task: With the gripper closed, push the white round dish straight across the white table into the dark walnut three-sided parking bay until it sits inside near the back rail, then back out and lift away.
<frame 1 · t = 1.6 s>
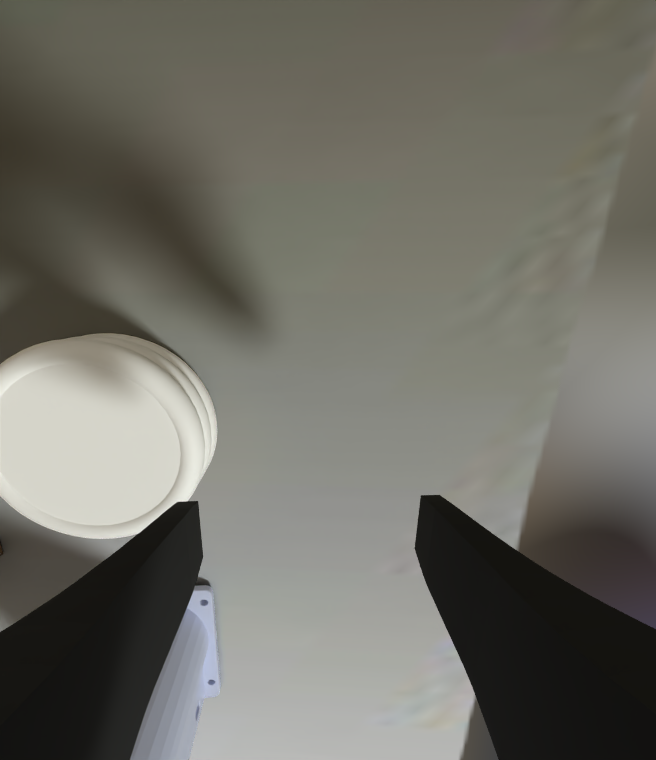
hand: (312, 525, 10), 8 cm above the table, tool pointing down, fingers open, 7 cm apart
white round dish: (130, 420, 17), on the table
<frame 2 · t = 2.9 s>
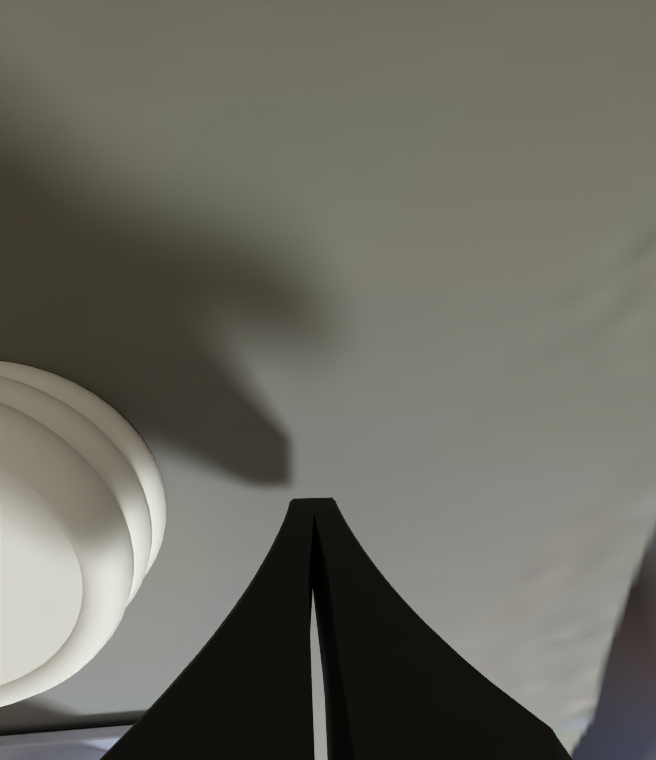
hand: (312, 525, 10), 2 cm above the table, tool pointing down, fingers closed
white round dish: (29, 492, 11), on the table
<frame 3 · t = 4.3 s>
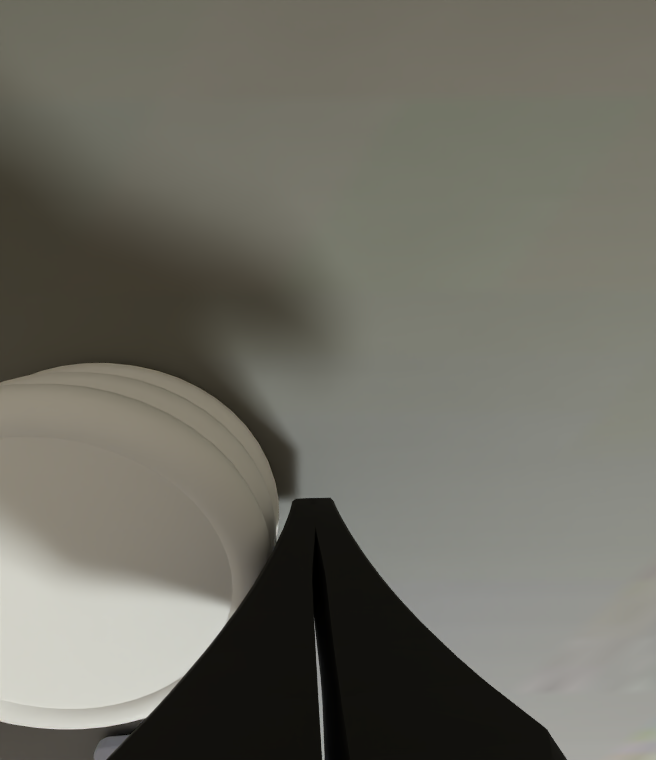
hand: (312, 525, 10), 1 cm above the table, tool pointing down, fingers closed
white round dish: (137, 498, 11), on the table, touching gripper
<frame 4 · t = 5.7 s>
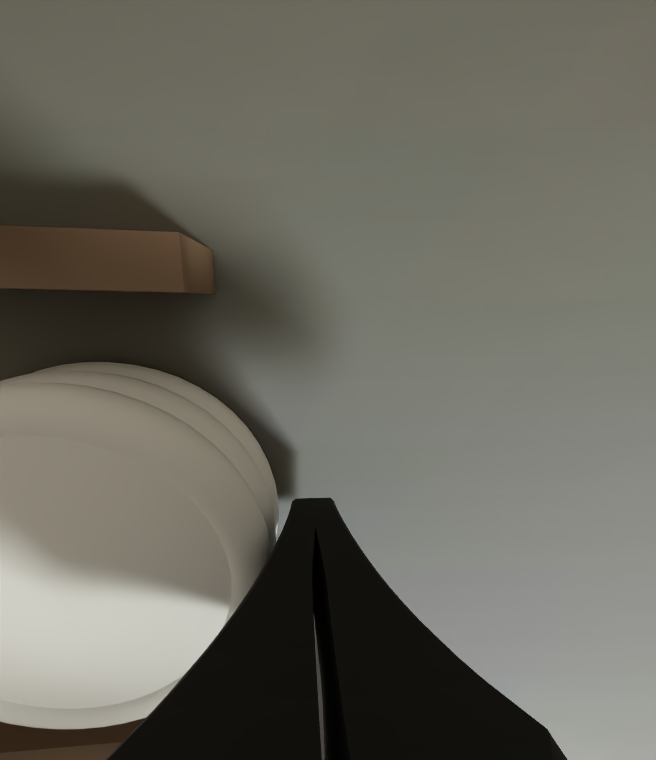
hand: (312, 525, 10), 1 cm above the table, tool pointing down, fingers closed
walnut bay: (30, 506, 10), on the table
white round dish: (136, 497, 11), on the table, touching gripper
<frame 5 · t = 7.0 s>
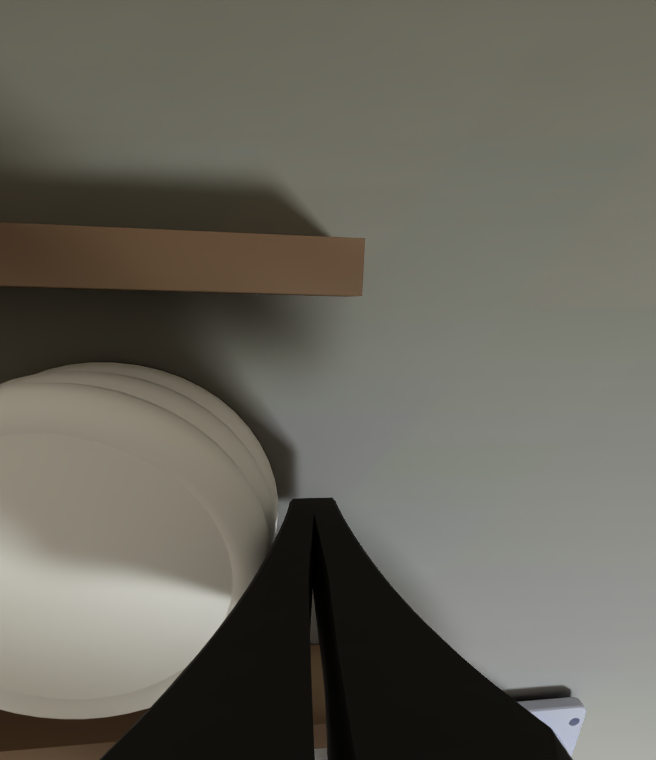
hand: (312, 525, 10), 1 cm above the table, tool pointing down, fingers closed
walnut bay: (150, 502, 11), on the table
white round dish: (139, 495, 11), on the table
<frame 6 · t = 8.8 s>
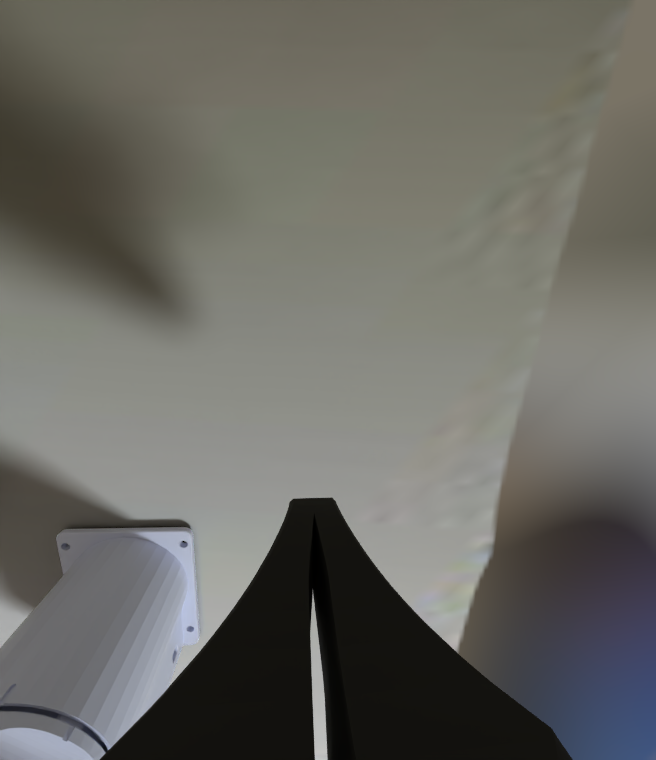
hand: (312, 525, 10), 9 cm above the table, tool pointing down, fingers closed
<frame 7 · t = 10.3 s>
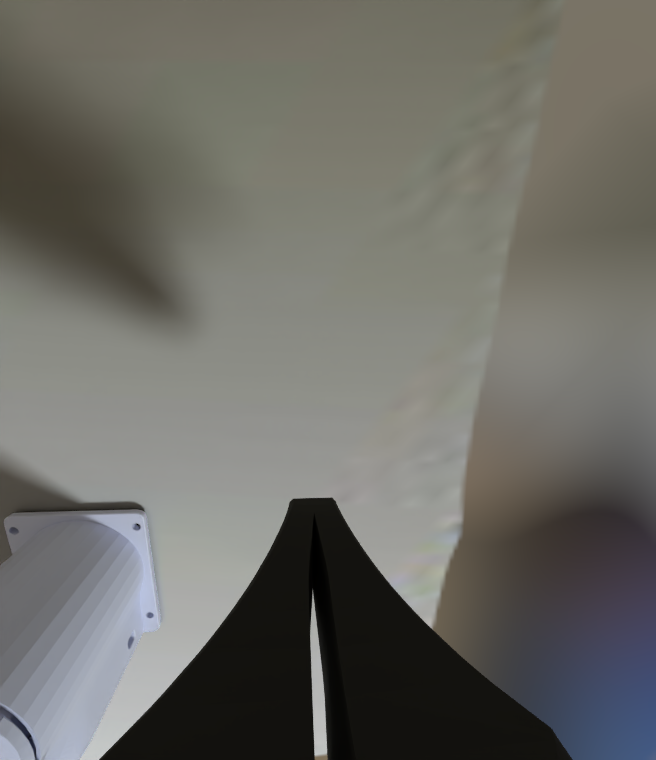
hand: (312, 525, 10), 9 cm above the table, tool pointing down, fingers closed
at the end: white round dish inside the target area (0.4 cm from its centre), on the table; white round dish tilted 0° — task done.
